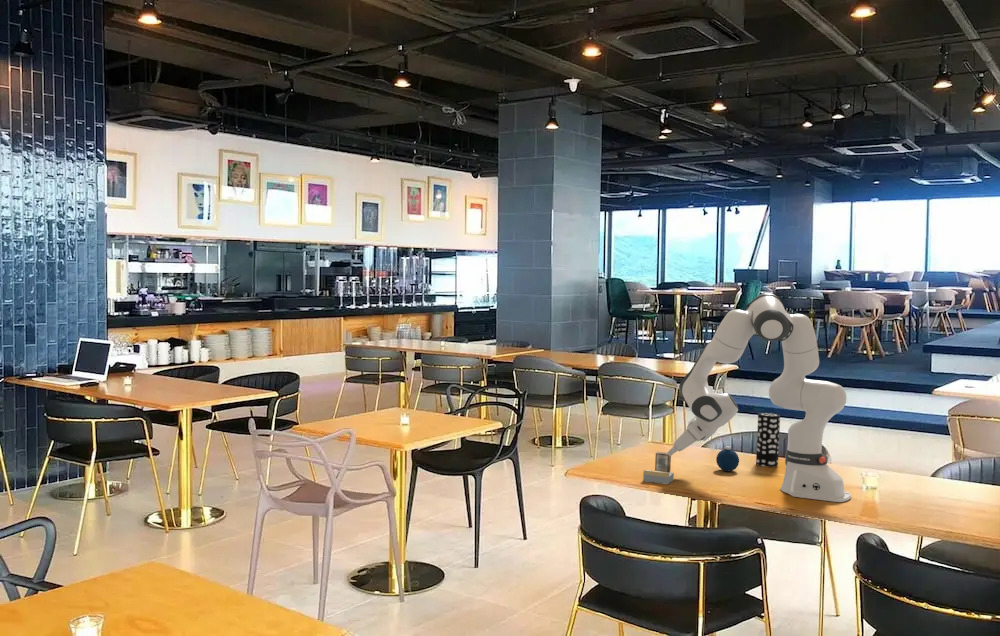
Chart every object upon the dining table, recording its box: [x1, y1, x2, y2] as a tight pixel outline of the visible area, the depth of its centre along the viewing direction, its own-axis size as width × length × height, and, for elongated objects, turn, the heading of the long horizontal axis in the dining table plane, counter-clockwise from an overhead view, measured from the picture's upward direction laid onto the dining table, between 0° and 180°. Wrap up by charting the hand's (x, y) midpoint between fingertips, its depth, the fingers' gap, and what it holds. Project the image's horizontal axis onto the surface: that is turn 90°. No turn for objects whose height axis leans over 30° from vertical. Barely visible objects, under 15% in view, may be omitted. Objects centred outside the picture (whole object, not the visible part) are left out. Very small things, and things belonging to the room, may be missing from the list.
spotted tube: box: [755, 412, 781, 468], centre depth 332 cm, size 8×8×20 cm
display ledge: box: [642, 469, 675, 485], centre depth 300 cm, size 9×8×4 cm
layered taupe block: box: [654, 451, 672, 473], centre depth 309 cm, size 5×3×8 cm, turn 65°
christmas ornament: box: [715, 445, 740, 472], centre depth 319 cm, size 8×8×10 cm
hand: (671, 452), depth 306 cm, fingers open, 8 cm apart
